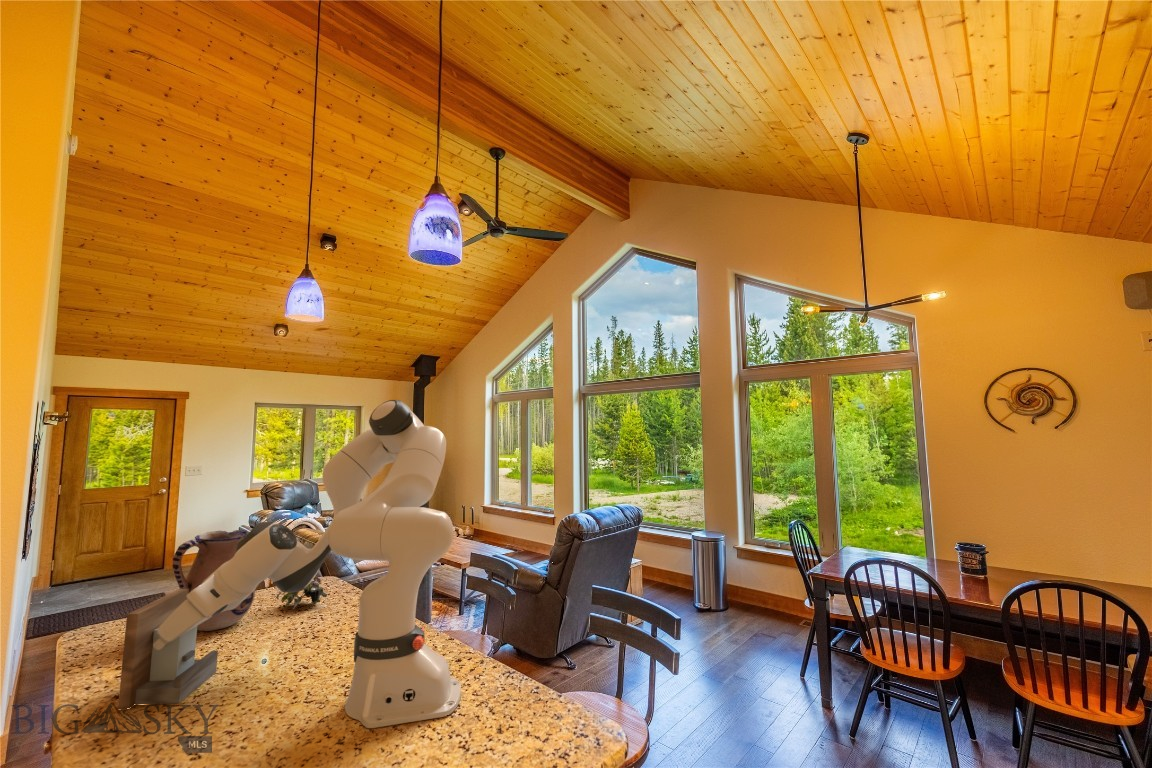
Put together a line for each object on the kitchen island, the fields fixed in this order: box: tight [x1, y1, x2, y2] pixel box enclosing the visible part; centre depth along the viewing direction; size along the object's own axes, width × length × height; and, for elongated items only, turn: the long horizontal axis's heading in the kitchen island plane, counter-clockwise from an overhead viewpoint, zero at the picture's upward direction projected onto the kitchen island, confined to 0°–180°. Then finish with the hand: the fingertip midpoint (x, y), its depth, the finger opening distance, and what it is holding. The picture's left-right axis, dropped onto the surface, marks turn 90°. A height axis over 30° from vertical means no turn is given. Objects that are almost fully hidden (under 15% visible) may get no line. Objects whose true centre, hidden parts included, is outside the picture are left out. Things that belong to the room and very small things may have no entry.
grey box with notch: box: [149, 626, 198, 681], centre depth 107 cm, size 6×6×10 cm
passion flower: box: [276, 576, 328, 612], centre depth 156 cm, size 11×11×12 cm
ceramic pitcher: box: [172, 529, 256, 632], centre depth 140 cm, size 18×21×25 cm
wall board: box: [117, 588, 219, 710], centre depth 107 cm, size 10×16×18 cm, turn 8°
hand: (172, 637), depth 107 cm, fingers open, 8 cm apart
